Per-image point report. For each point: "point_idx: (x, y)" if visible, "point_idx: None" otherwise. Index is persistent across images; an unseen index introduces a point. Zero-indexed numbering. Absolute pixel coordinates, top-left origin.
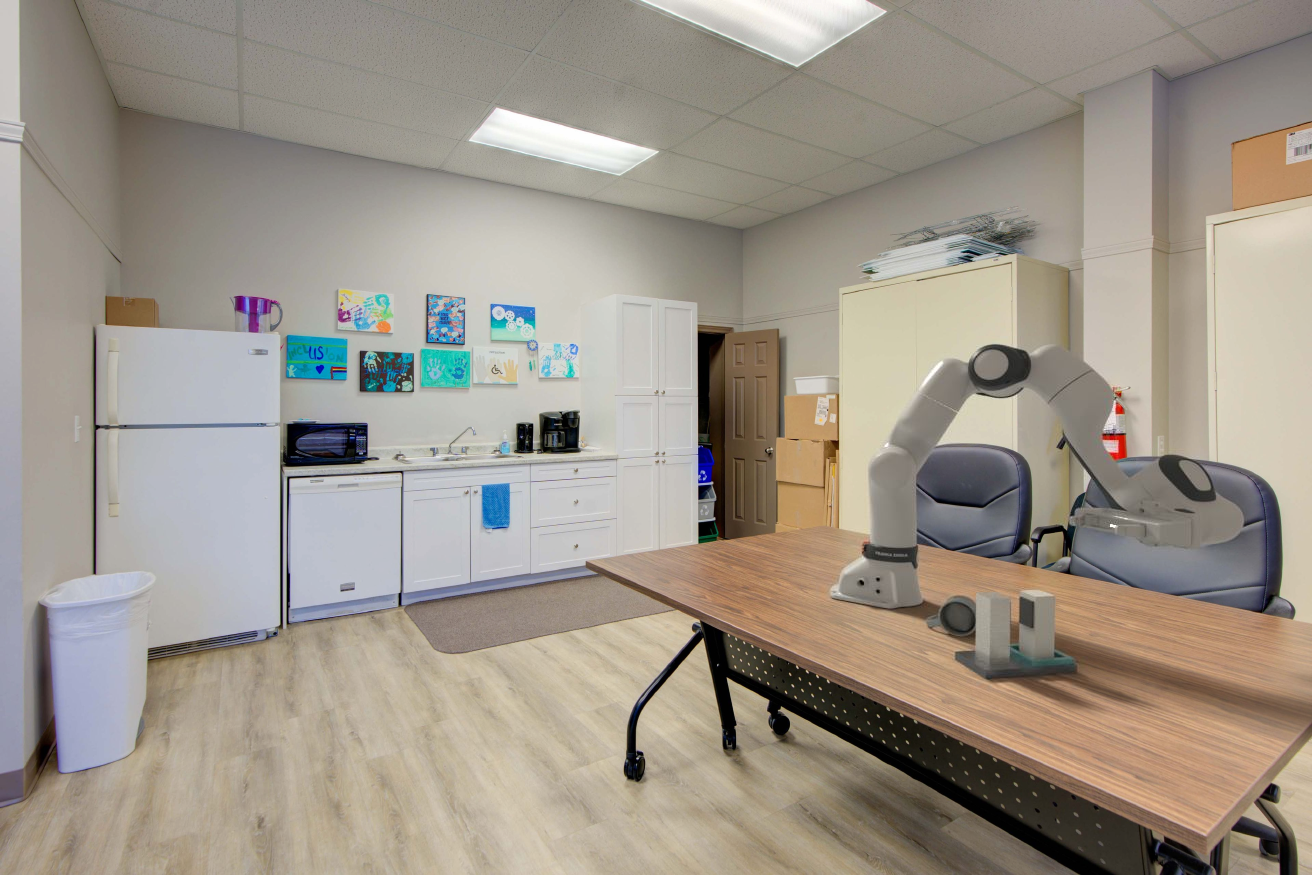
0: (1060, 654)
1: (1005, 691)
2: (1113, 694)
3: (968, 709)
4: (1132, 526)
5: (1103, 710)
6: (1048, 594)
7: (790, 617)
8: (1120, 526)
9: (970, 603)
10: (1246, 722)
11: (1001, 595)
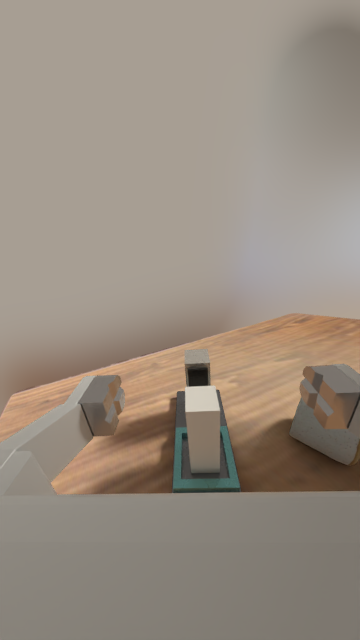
0: (190, 479)
1: (155, 397)
2: (112, 493)
3: (142, 369)
4: (34, 426)
5: (98, 447)
6: (193, 407)
7: (296, 337)
8: (80, 385)
9: (313, 415)
10: None
11: (194, 361)
